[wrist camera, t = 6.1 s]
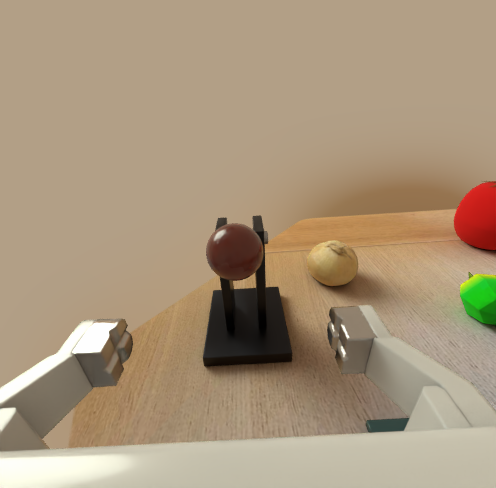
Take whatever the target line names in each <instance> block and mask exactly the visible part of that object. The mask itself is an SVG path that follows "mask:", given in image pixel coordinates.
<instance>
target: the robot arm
mask: <svg viewBox="0 0 496 488" xmlns="http://www.w3.org/2000/svg"><path fill="white" fill-rule="evenodd" d="M329 316H330V318H331V321H330V322H329V323H328V329H327V331H328V339H329V343H330V346H331V348H332V349H333V350H335V351H336V356H335V359H336V361H337V364H338V367H339V369H340V372H341V374H359V373H365V375H366V376H367V377H368V378H369V379H370V380H371V381H372V382H373V383H374V384H375V385H376V386H377V387H378V388H379V389H380V390H381V391H382V392H383V393H384V394H385V395H386V396H388V397H389V398H390V399H391V400H392V401H393V402H394V403H395V404H396V405H397V406H398V407H399V408H400V409H401V410H402V411H403V412H404V413H405V414H406V415H407V416H408V417H410V418H409V421H408V423H407V425H406V427H405V430H404V431H394V432H374V433H354V434H335V435H315V436H295V437H276V438H256V439H236V440H217V441H198V442H179V443H160V444H140V445H120V446H101V447H81V448H62V449H50V448H49V447H48V446H47V445H46V443H45V442H44V441H43V440H42V439H43V438H44V436H46V435H47V434H48V433H49V432H50V431H51V430H52V429H53V428H54V427H55V426H56V425H57V424H58V423H59V422H60V421H61V420H62V419H63V418H64V417H65V416H66V415H67V414H68V413H69V412H70V411H71V410H72V409H73V408H74V407H75V406H76V405H77V404H78V403H79V402H80V401H81V400H82V399H83V398H84V397H85V396H86V395H87V394H88V393H89V392H90V391H91V390H92V389H93V387H105V386H116V385H117V383H118V381H119V378H120V376H121V374H122V372H123V370H124V368H123V365H122V364H123V363H124V362H125V361H126V360H128V359H129V357H130V354H131V352H132V346H133V340H132V336H131V334H130V333H129V332H127V331H126V328H127V326H128V325H127V323H126V321H125V320H124V319H98V320H84V321H82V322H80V324H79V325H78V326H77V328H76V329H75V330H74V331H73V333H72V334H71V335H70V337H69V338H68V339H67V341H66V342H65V343H64V344H63V346H62V347H61V348H60V350H59V351H58V352H57V353H56V355H51V356H49V357H48V358H46V359H45V360H43V361H41V362H40V363H38V364H37V365H35V366H34V367H32V368H31V369H29V370H28V371H26V372H24V373H23V374H21V375H20V376H18V377H17V378H15V379H14V380H12V381H10V382H9V383H7V384H6V385H4V386H3V387H1V388H0V488H496V410H495V409H494V408H493V407H492V406H491V405H490V403H489V402H488V401H487V400H486V399H485V397H484V396H483V395H482V394H481V393H480V392H479V390H478V389H477V388H476V387H475V386H474V384H473V383H471V382H470V381H468V380H466V379H465V378H463V377H462V376H460V375H458V374H457V373H455V372H453V371H452V370H450V369H449V368H447V367H445V366H444V365H442V364H440V363H439V362H437V361H435V360H434V359H432V358H431V357H429V356H427V355H426V354H424V353H422V352H421V351H419V350H418V349H416V348H414V347H413V346H411V345H409V344H408V343H406V342H404V341H403V340H401V339H400V338H398V337H393V336H392V335H391V333H390V332H389V330H388V329H387V327H386V326H385V324H384V323H383V321H382V320H381V319H380V317H379V316H378V314H377V313H376V311H375V310H374V308H373V307H372V306H371V305H362V306H348V307H332V308H331V309H330V313H329Z"/></svg>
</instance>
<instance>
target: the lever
mask: <svg viewBox="0 0 496 488" xmlns="http://www.w3.org/2000/svg"><path fill="white" fill-rule="evenodd" d="M206 256H207V260H208V263H209V265H210V267H211V269H212V270H213V271H214V272H215V273H216V274H217V275H219V276H220V277H222V278H224V279H227V280H232V281H237V280H243V279H246V278H248V277H250V276H251V275H252V274H254V273H255V272H256V271H257V269H258V268H259V266H260V265H261V262H262V259H263V245H262V242H261V239H260V238H259V236H258V235H257V233H256V232H255V231H254V230H252V229H251V228H249V227H248V226H246V225H242V224H237V223H235V224H234V223H232V224H227V225H224V226H222V227H220V228H219V229H217V230H216V231H215V232H214V233H213V234H212V235H211V237H210V239H209V241H208V244H207V248H206Z"/></svg>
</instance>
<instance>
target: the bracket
mask: <svg viewBox="0 0 496 488" xmlns="http://www.w3.org/2000/svg"><path fill="white" fill-rule="evenodd" d="M224 225H227V218H218V221H217V225H216V230H217V229H219V228H220V227H222V226H224ZM216 230H215V231H216ZM253 230H254V231H255V232H256V233H257V235H258V236H259V238H260V239H261V242H262V245H263V259H262V262H261V265H260V266H259V268H258V269H257V271H256V272H255V277H256V288H248V289H234V286H233V281H232V280H227V279H224V278H222V277H220V282H221V289H222V290H214V291H213V296H212V303H211V309H210V315H209V322H208V328H207V335H206V341H205V347H204V354H203V361H204V366H222V365H240V364H257V363H275V362H291V361H292V350H291V345H290V340H289V335H288V331H287V326H286V321H285V316H284V312H283V307H282V302H281V298H280V293H279V288H278V287H266V281H265V244H268V233H267V231H264V229H263V223H262V218H261V216H253Z"/></svg>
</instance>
